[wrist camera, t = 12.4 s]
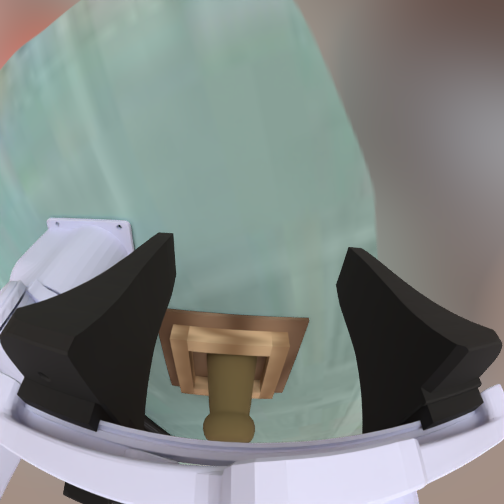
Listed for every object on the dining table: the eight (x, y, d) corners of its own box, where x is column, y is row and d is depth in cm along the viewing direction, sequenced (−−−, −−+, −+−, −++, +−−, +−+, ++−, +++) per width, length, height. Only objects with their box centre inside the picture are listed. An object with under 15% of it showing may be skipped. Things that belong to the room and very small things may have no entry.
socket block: (172, 383, 36) (170, 396, 34) (154, 307, 27) (149, 324, 25) (281, 390, 37) (283, 404, 35) (308, 318, 28) (312, 335, 26)
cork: (259, 370, 33) (261, 450, 23) (212, 371, 33) (205, 450, 24) (255, 342, 29) (257, 434, 20) (201, 344, 30) (190, 433, 20)
